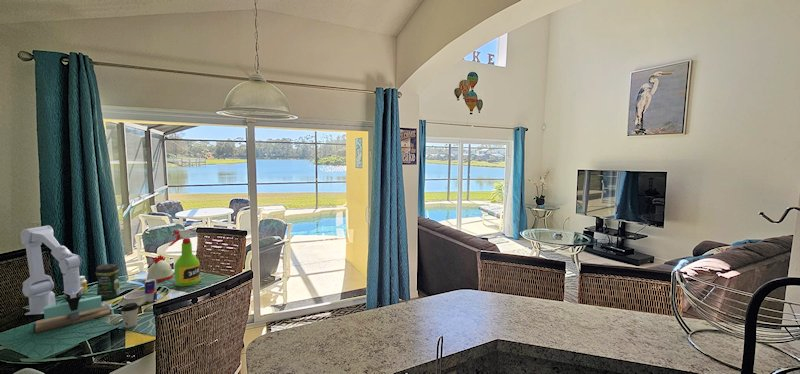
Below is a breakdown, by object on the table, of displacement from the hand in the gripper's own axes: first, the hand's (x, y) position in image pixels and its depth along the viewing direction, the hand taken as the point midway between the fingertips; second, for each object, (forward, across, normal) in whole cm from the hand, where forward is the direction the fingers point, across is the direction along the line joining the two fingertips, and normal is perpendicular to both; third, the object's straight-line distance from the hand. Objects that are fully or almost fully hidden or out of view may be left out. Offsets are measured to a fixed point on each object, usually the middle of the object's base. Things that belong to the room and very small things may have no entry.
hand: (73, 307), depth 165 cm
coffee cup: (+6, -26, -18) cm, 32 cm away
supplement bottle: (+6, +37, -4) cm, 38 cm away
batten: (+2, 0, 0) cm, 2 cm away
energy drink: (+6, -2, -30) cm, 31 cm away
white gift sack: (+6, +35, -42) cm, 55 cm away
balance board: (+6, 0, 0) cm, 6 cm away
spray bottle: (+6, +15, -51) cm, 53 cm away
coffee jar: (+6, +21, -15) cm, 27 cm away
